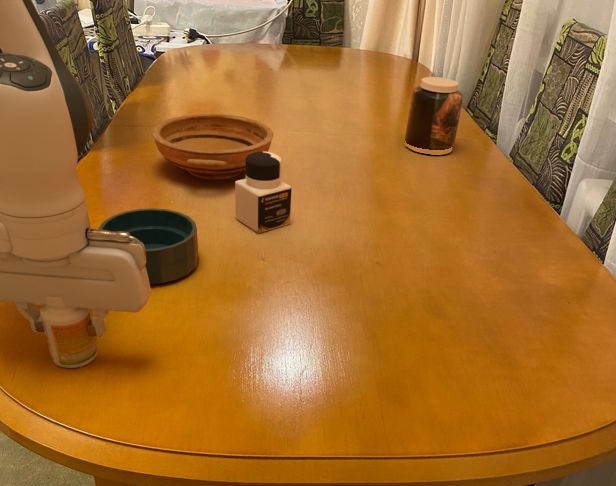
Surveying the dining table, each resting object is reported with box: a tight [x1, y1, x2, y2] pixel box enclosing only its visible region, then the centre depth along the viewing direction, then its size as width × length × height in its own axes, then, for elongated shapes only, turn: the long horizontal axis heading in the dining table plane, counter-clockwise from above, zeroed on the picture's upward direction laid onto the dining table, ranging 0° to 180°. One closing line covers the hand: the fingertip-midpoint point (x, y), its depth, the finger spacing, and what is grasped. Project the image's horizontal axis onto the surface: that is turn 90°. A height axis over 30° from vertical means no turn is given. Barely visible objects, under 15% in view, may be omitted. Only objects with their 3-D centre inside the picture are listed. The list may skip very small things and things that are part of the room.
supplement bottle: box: [40, 296, 98, 369], centre depth 72 cm, size 5×5×10 cm
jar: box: [404, 76, 464, 150], centre depth 141 cm, size 12×12×15 cm
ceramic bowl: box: [151, 113, 274, 180], centre depth 124 cm, size 30×24×8 cm
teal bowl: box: [97, 207, 200, 285], centre depth 92 cm, size 14×14×6 cm
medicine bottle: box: [234, 151, 293, 234], centre depth 104 cm, size 7×7×12 cm
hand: (69, 331), depth 73 cm, fingers closed on supplement bottle, 5 cm apart
